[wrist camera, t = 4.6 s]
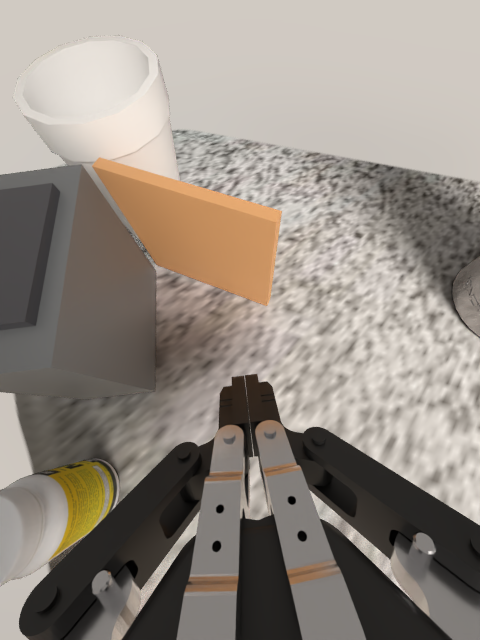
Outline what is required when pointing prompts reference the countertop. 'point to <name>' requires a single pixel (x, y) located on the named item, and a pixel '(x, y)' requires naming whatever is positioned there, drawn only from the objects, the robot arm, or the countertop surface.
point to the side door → (198, 229)
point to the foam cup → (101, 107)
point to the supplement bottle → (52, 513)
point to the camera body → (71, 291)
